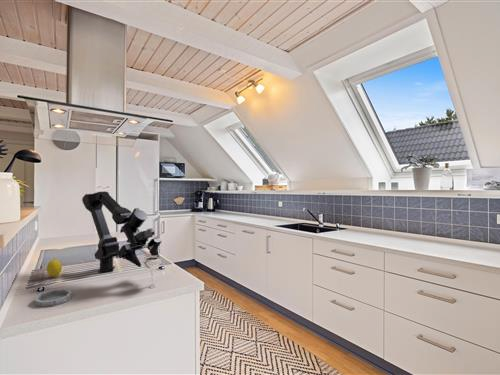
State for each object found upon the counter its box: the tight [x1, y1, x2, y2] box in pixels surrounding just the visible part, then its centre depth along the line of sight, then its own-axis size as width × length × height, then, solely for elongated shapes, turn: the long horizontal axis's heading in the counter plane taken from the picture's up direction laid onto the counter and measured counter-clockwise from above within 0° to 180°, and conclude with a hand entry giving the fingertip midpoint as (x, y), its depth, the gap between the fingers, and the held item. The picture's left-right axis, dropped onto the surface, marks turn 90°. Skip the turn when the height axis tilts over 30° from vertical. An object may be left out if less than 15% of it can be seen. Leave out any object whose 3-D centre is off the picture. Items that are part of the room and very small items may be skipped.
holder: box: [33, 288, 73, 308], centre depth 104 cm, size 11×11×2 cm
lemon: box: [46, 258, 63, 278], centre depth 125 cm, size 6×6×8 cm
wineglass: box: [143, 254, 162, 289], centre depth 119 cm, size 7×7×12 cm
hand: (149, 263), depth 119 cm, fingers open, 9 cm apart
